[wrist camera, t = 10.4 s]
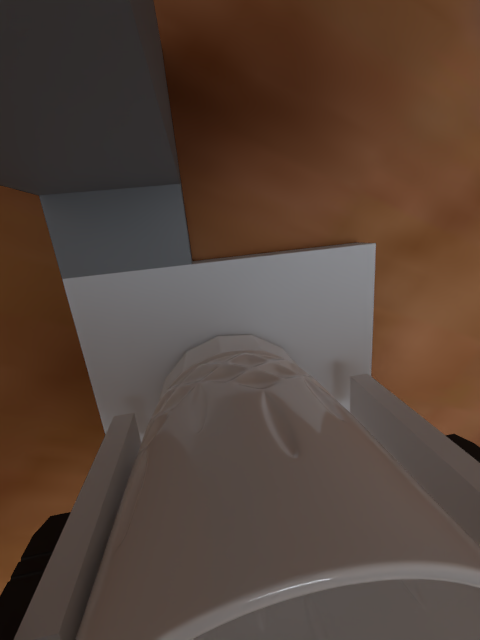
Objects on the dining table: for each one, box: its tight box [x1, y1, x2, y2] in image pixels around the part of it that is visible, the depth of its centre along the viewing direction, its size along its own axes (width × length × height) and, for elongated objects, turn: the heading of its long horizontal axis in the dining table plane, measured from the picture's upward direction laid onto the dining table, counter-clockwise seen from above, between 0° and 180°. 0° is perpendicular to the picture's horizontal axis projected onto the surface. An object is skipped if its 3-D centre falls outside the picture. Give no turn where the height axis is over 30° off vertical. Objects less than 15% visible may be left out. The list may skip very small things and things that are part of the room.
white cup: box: [75, 335, 480, 640], centre depth 9 cm, size 8×8×10 cm
